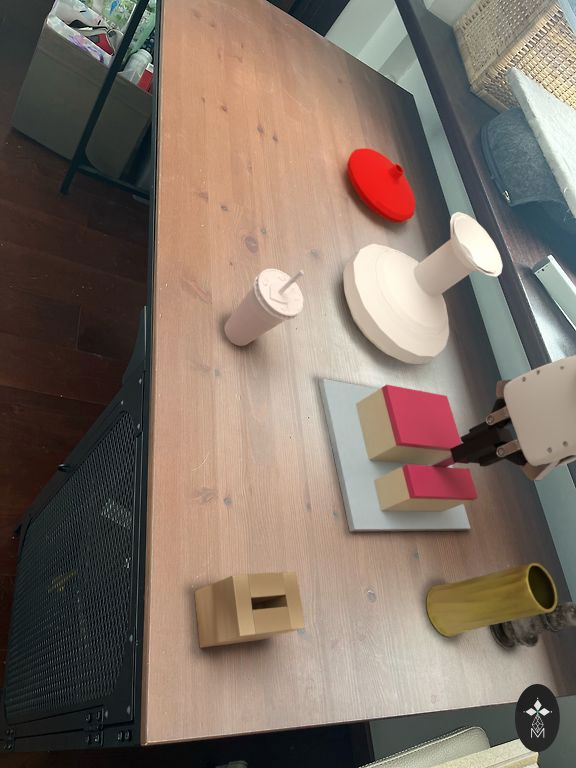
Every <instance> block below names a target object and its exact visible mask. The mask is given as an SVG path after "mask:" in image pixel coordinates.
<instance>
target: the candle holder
mask: <svg viewBox="0 0 576 768" xmlns="http://www.w3.org/2000/svg"><path fill="white" fill-rule="evenodd" d="M449 228H450V239H449V240H447V241H446V242H445V243H443V244H442V245H441V246H440V247H438V248H436V250H435V251H433V252H432V253H431V254H429V255H428V256H427V257H425V259H423V260H421V261H420V262H419V261H417V259H415V258H413V257H411V256H409V255H408V254H406V253H404V252H402V251H400V250H397V249H394V248H392V247H390V246H386V245H381V244H377V243H371V244H369V245H367V246H364V247H362V248H361V249H359V250H358V251H357V252H355V253H354V254H353V255H352V256H351V257H350V258H349V259H348V261H347V263H346V266H345V267H344V268H343V270H342V276H343V290H344V291H343V292H344V296H345V299H346V303H347V306H348V308H349V312H350V314H351V317H352V320H353V322H354V323H355V324H356V326H357V327H358V328H359V330H360V331H361V332H362V334H363V336H364V337H365V338H366V339H368V340H369V341H370V342H371V343H372V344H373V345H374V346H375V347H376V348H377V349H378V350H380V351H382V353H384V354H386V355H388V356H390V357H393V358H395V359H397V360H399V361H402V362H404V363H406V364H421V365H423V364H425V363H427V362H429V361H431V360H432V359H434V358H435V357H437V356H438V355H439V354H440V353H441V352H442V351H444V349H446V347H447V343H448V340H449V335H450V326H449V315H448V311H447V304H446V302H445V299H444V296H443V293H444V292H446V291H447V290H450V289H451V288H452V287H453V286H454V285H456V284H457V283H459V282H460V281H462V280H463V279H464V278H466V277H468V276H469V275H470V274H472V273H473V272H474V271H475V272H477V273H480V274H483V275H487V276H489V277H495V278H497V277H498V276H500V275H501V274H502V272H503V271H502V270H503V266H504V265H503V261H502V257H501V254H500V252H499V249H498V248H497V246H496V244H495V242H494V241H493V238H492V237H490V235H489V233H488V231H486V229H485V228H484V227H483V226H482V225H481V224H479V222H478V221H477V220H476V219H474V218H473V217H471V216H470V215H468V214H466V213H462V212H461V211H456V212H454V213H452V215H451V218H450V221H449Z"/></svg>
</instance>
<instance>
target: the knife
mask: <svg viewBox="0 0 576 768" xmlns="http://www.w3.org/2000/svg"><path fill="white" fill-rule="evenodd" d="M514 440H515V439H514V437H513V433H512V431H511V429H510V428H506V427H504V428H500V427H496V428H493V429H491V430H489V431H488V432H485V433H483V434H481V435H479V436H477V437H475V438H473V439H471V440H468V441H466V442H464V443H463V442H461V444H459V445H457V446H455V447H453V448H451V449H450V451H451V454H452V455H449V456H446V457H444V458H442V459H440V460H438V461H436V462H433V463H431V464H429V465H427V466H438V467H448V466H450V465H452V466H453V465H454V464H466V465H468V464H469V463H468V461H467V456H469V455H471V454H473V453H475V452H477V451H480V450H482V449H484V448H486V447H488V446H491V445H494V446H499V445H504V444H507V443H509V442H511V441H514Z"/></svg>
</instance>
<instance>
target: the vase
mask: <svg viewBox="0 0 576 768" xmlns="http://www.w3.org/2000/svg"><path fill="white" fill-rule="evenodd" d="M557 604H558V592H557V587H556V585H555V582H554V580H553V578H552V576H551V574H550V573H549V571H548V570H547V569H546V567H544V566H543V565H542V564H540V563H537V562H531V563H528V564H523V565H519V566H515V567H511V568H507V569H504V570H500V571H496V572H492V573H488V574H485V575H481V576H475V577H472V578H471V577H470V578H467V579H464V580H460V581H456V582H451V583H446V584H436V585H433V586H432V587H431V588H430V589H429V591H428V593H427V596H426V611H427V615H428V618H429V620H430V622H431V624H432V625H433V627H434V628H435V629H436V631H437V632H438V633H440V634H441V635H443V636H444V637H449V638H450V637H454V636H457V635H459V634H461V633H464V632H468V631H474V630H476V629H481V628H486V627H488V626H489V627H490V625H493V624H498V623H502V622H506V621H511V620H516V619H520V618H525V617H530V616H534V615H537V614H542V613H547V612H552V611H553V610H554V609H555V607H556V605H557Z"/></svg>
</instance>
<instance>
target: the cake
mask: <svg viewBox="0 0 576 768" xmlns="http://www.w3.org/2000/svg"><path fill="white" fill-rule="evenodd" d="M378 389H379V390H377V391H376V392H374V393H372V394H371V395H369V396H368V397H366V398H364V399H363V400H361V401H360V402H358V403H356V406H357V410H358V415H359V419H360V423H361V428H362V432H363V436H364V440H365V445H366V449H367V453H368V458H369V460H379V461H391V462H403V463H414V464H426V465H429V464H431V463H433V462H436V461H438V460H440V459H442V458H444V457H446V456H449V455H452V454H451V451H450V449H451V448H453V447H455V446H457V445H459V444H462V441H461V438H460V437H461V436H460V434H459V431H458V428H457V424H456V421H455V418H454V414H453V411H452V407H451V405H450V401H449V398H448V396H447V395H444V394H439V393H434V392H429V391H424V390H417V389H413V388H407V387H402V386H397V385H391V384H385V385H383V386H382V387H381V388H378Z"/></svg>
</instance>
